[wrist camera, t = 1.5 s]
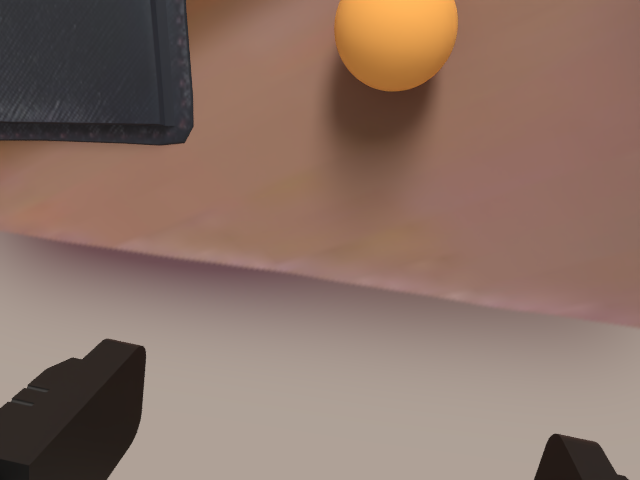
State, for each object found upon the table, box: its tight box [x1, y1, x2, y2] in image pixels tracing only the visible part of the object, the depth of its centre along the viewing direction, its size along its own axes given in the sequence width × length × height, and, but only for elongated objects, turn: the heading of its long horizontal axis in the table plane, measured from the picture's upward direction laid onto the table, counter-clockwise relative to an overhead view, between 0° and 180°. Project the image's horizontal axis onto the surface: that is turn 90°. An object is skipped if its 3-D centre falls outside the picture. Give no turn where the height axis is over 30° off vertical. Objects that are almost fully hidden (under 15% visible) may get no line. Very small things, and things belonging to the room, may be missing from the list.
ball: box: [334, 0, 458, 91], centre depth 27 cm, size 6×6×6 cm
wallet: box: [0, 0, 194, 145], centre depth 32 cm, size 20×2×15 cm
